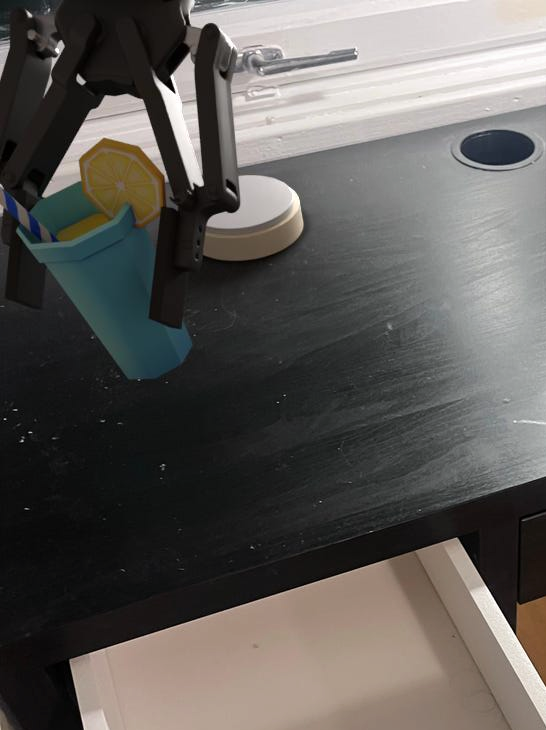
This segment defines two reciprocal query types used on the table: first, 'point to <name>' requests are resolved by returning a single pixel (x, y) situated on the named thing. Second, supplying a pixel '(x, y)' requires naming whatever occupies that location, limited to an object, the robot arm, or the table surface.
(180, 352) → the cup
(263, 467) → the table surface
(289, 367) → the table surface
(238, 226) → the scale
